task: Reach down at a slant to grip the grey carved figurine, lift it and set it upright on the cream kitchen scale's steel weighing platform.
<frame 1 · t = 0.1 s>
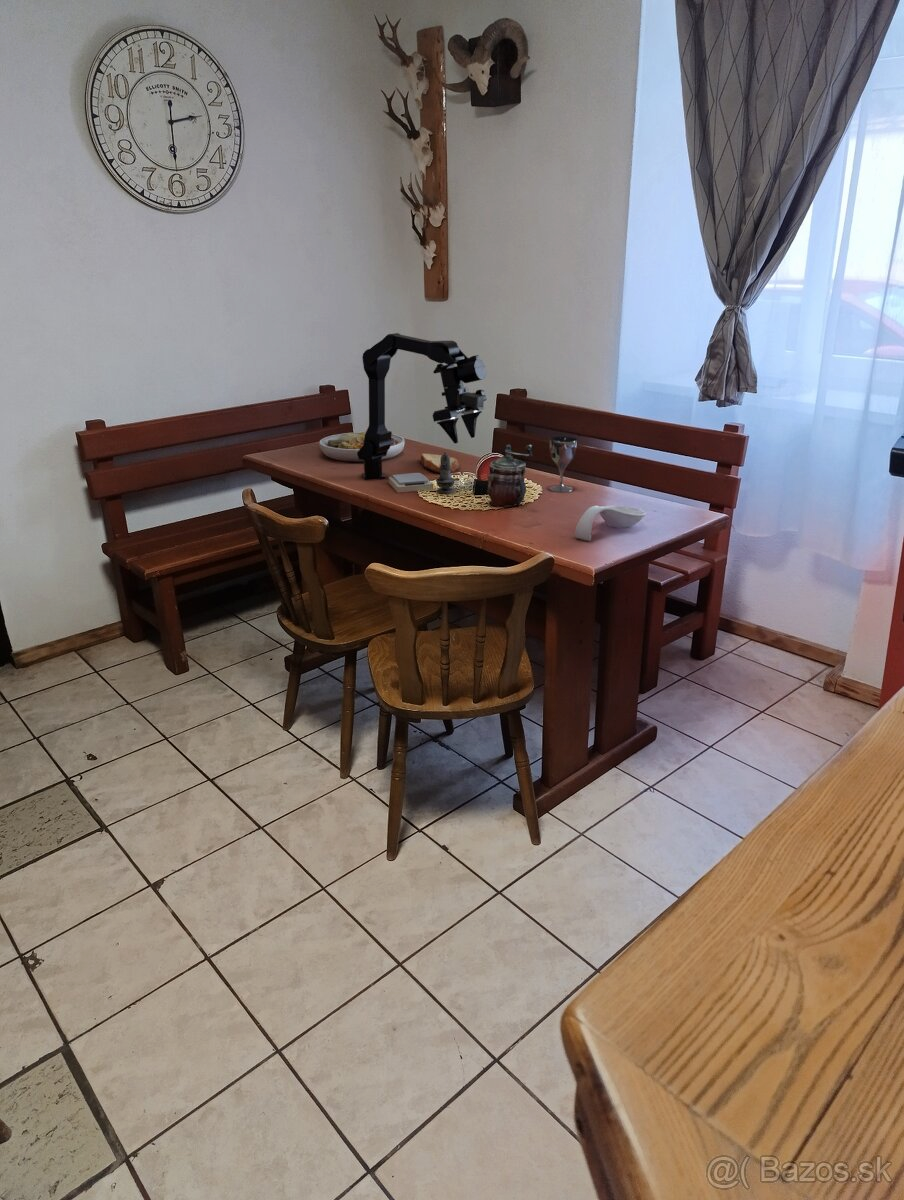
hand: (464, 440, 236), 15 cm above the table, tool pointing down, fingers open, 9 cm apart
scale: (410, 486, 249), on the table
grey carved figurine: (445, 492, 243), on the table
wine glass: (560, 489, 245), on the table
spoon rest: (608, 530, 208), on the table
coffee grinder: (511, 504, 230), on the table
bread slice: (436, 467, 272), on the table
bowl: (362, 454, 290), on the table
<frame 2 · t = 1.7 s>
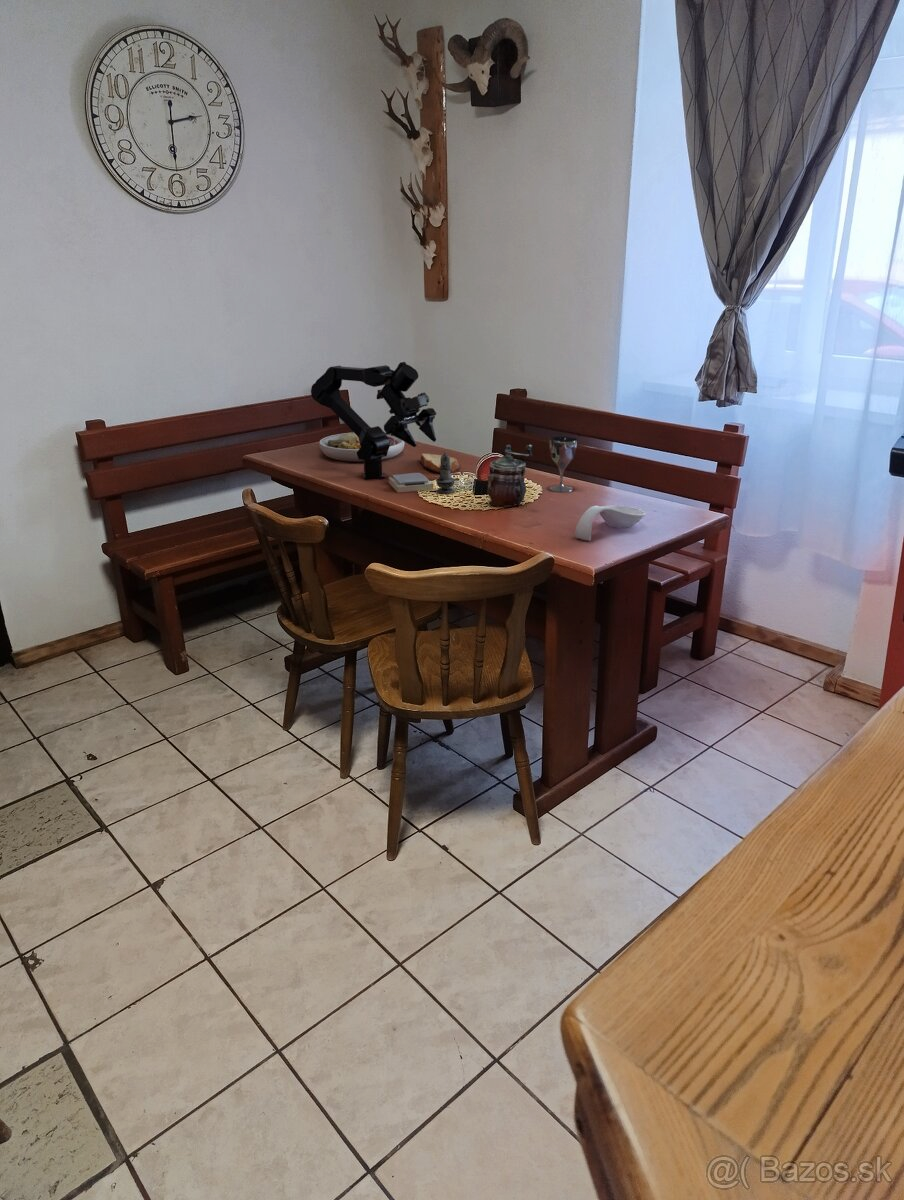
hand: (425, 443, 242), 13 cm above the table, tool tilted 45°, fingers open, 9 cm apart
nothing on the table moved.
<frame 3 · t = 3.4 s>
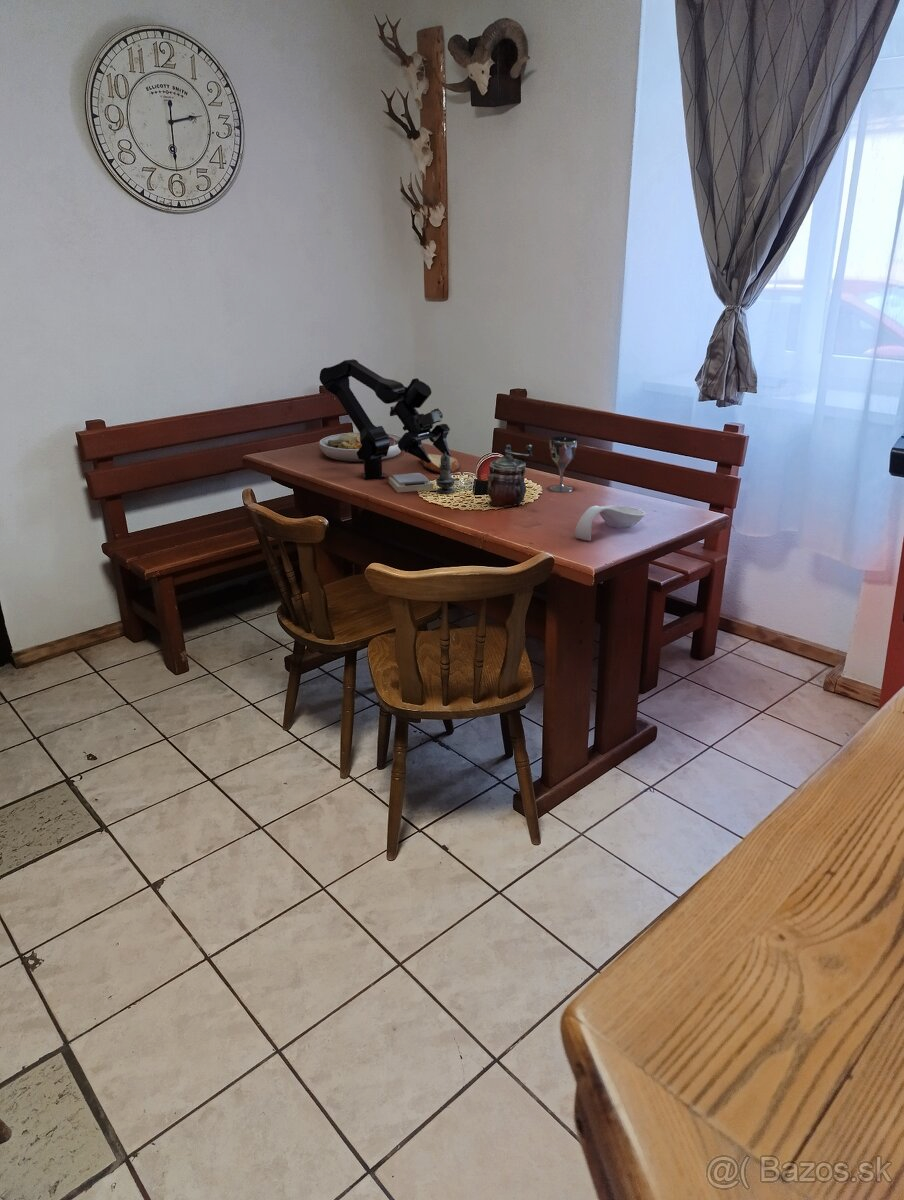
hand: (439, 459, 241), 9 cm above the table, tool tilted 45°, fingers open, 9 cm apart
nothing on the table moved.
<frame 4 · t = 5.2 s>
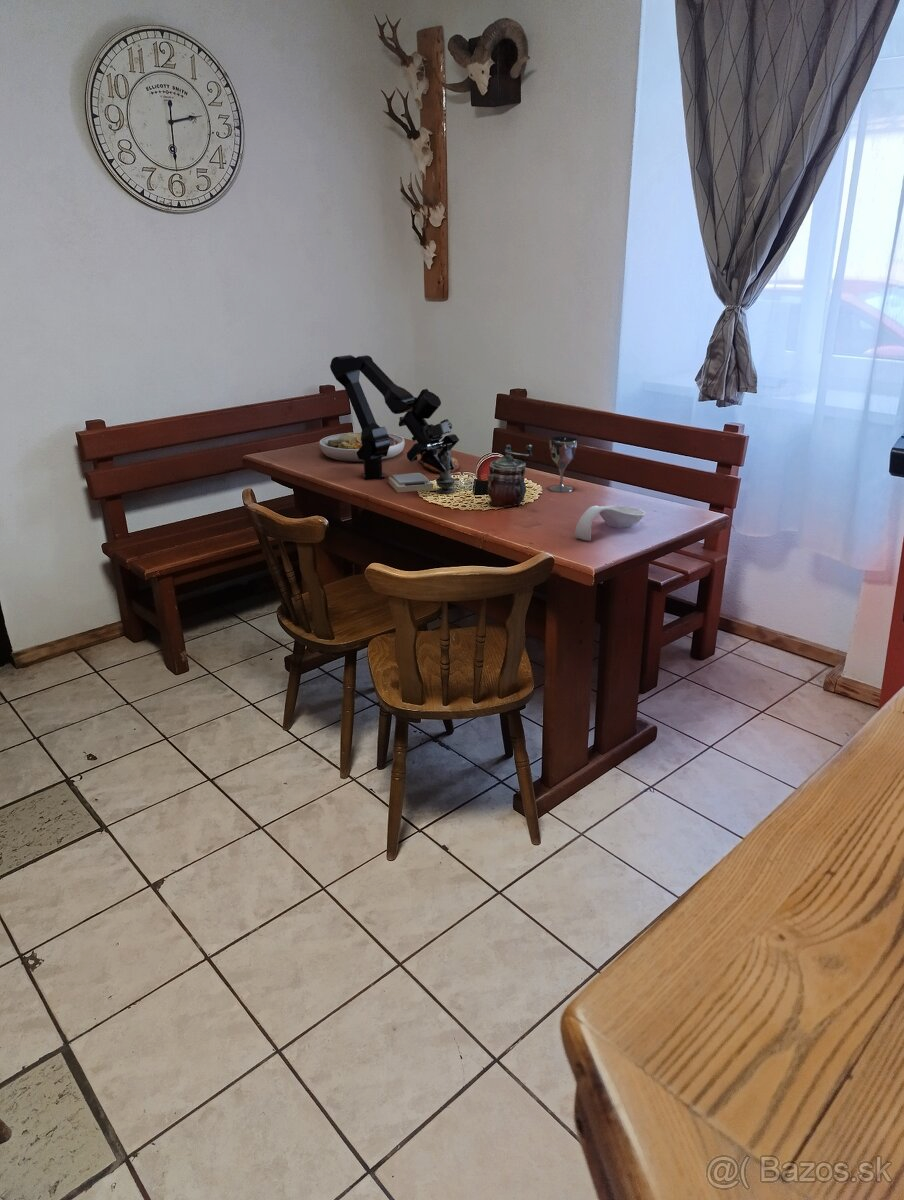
hand: (449, 470, 240), 7 cm above the table, tool tilted 45°, fingers closed on grey carved figurine, 3 cm apart
grey carved figurine: (445, 492, 243), on the table, touching gripper
everything else where it was.
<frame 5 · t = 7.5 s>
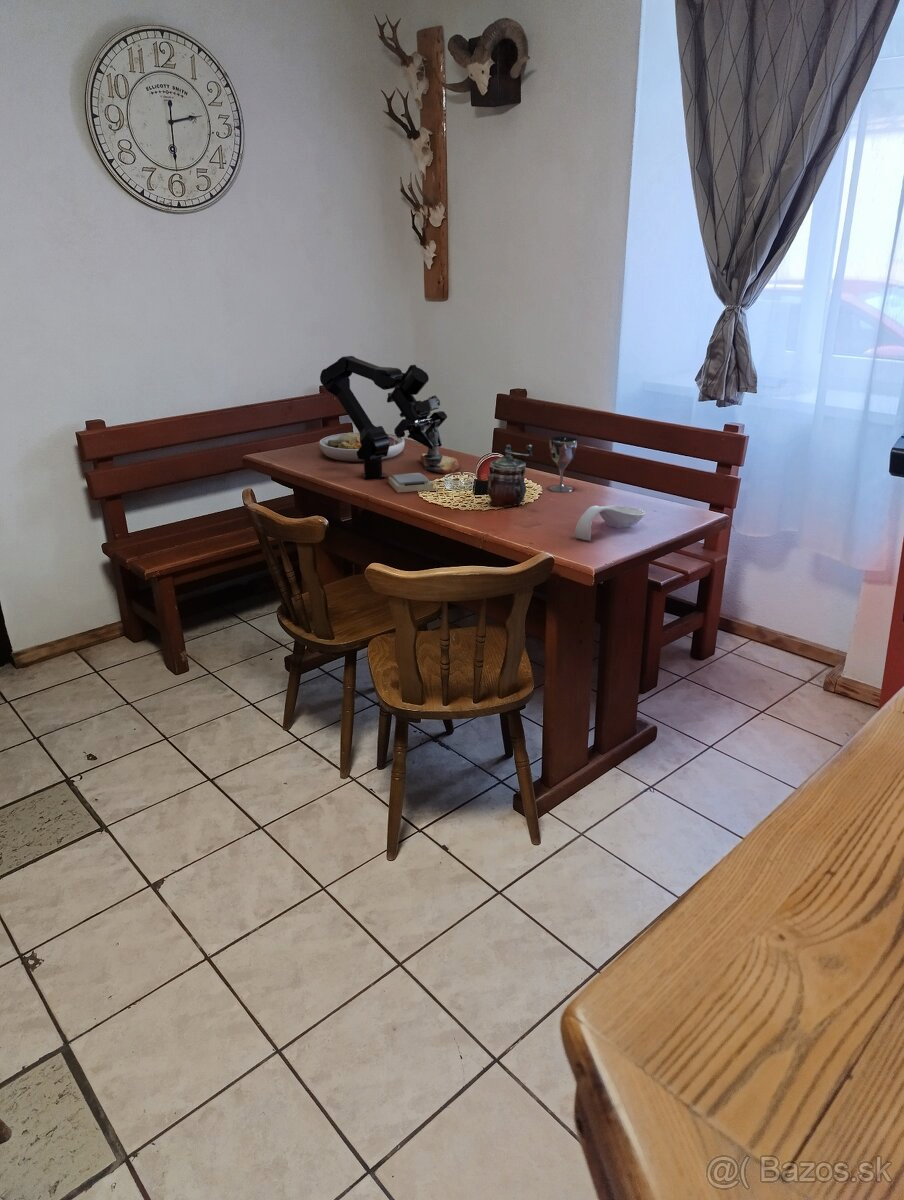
hand: (436, 447, 239), 13 cm above the table, tool tilted 45°, fingers closed on grey carved figurine, 3 cm apart
grey carved figurine: (433, 468, 243), point 6 cm above the table, touching gripper
everything else where it was.
when the fingers open (9 cm above the table, at t = 10.1 s): grey carved figurine stays where it is, resting on scale.
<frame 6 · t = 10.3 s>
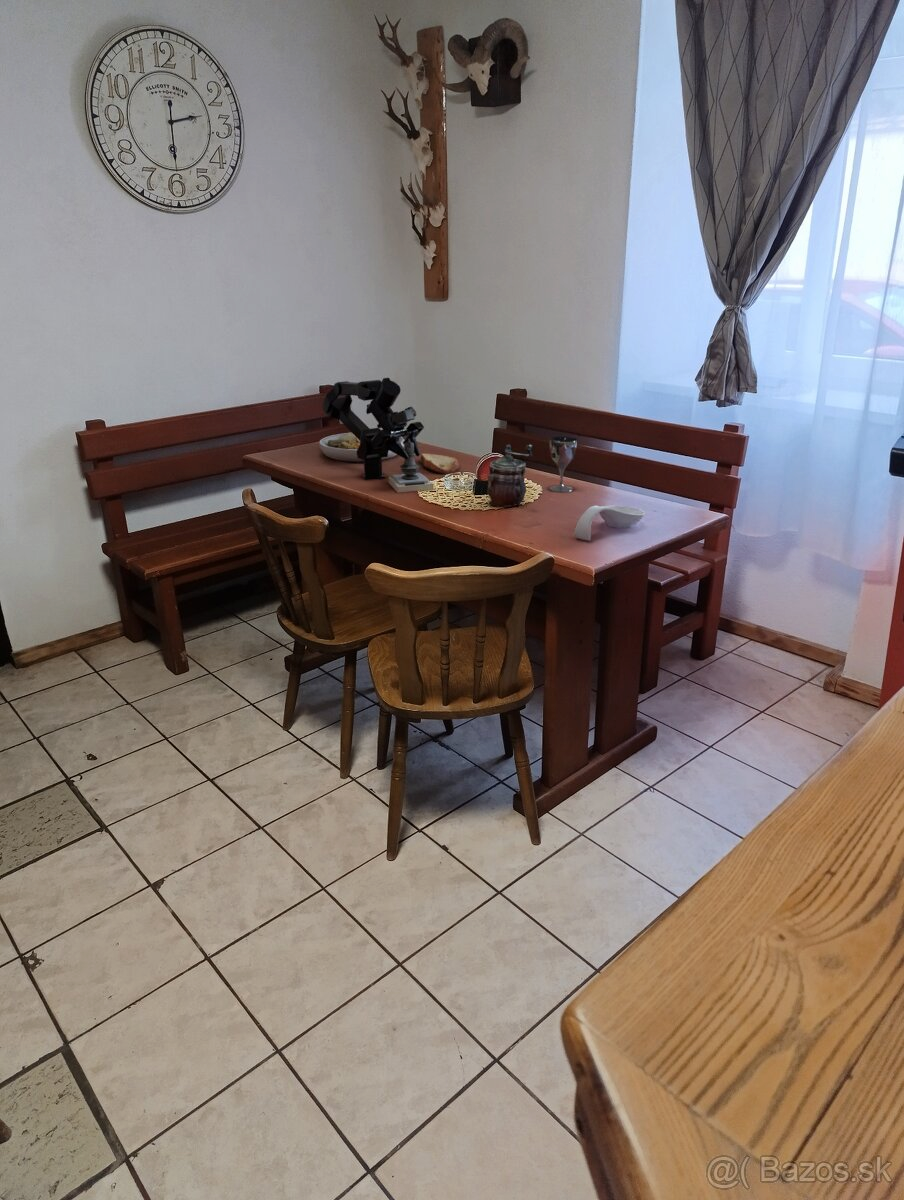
hand: (413, 457, 245), 9 cm above the table, tool tilted 45°, fingers open, 5 cm apart
grey carved figurine: (410, 478, 248), point 2 cm above the table, touching scale
everything else where it was.
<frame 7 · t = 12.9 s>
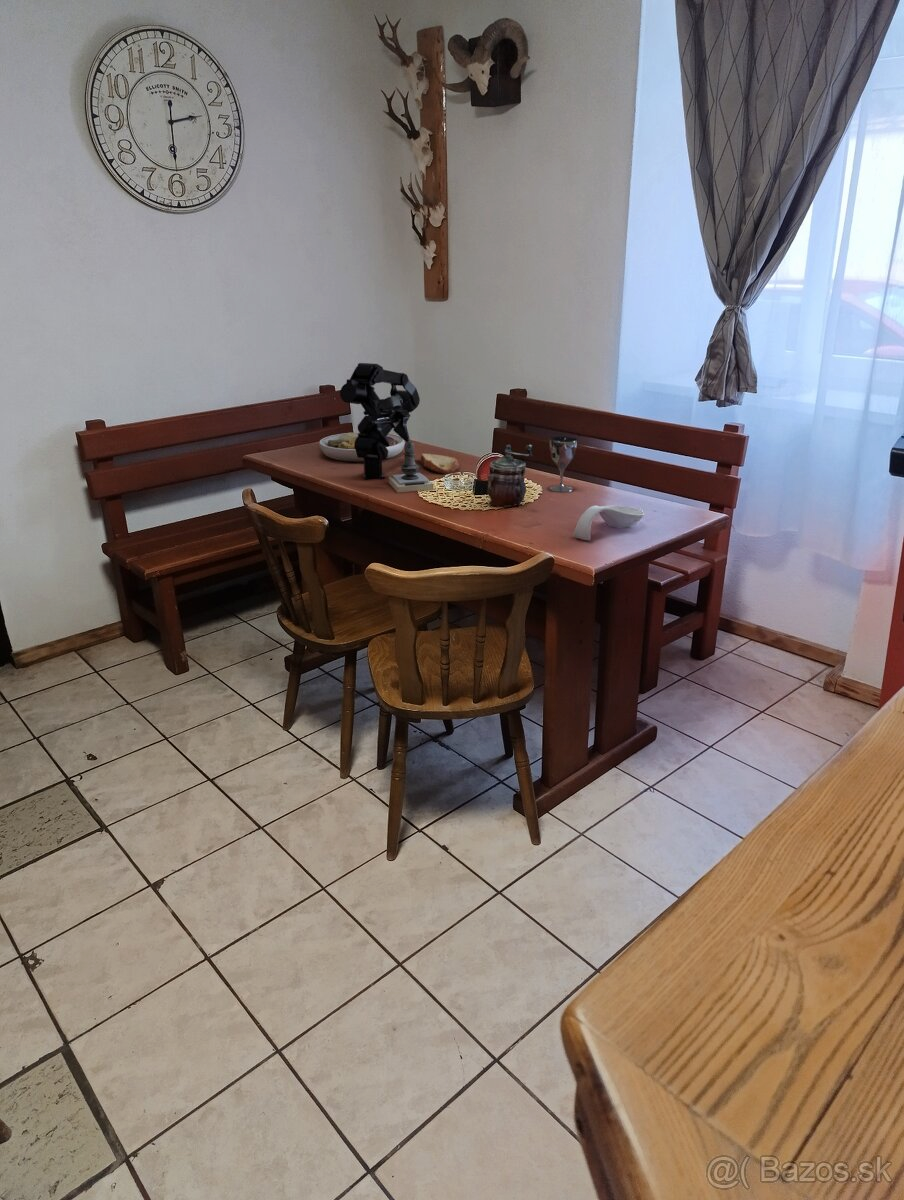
hand: (399, 443, 246), 13 cm above the table, tool tilted 45°, fingers open, 9 cm apart
nothing on the table moved.
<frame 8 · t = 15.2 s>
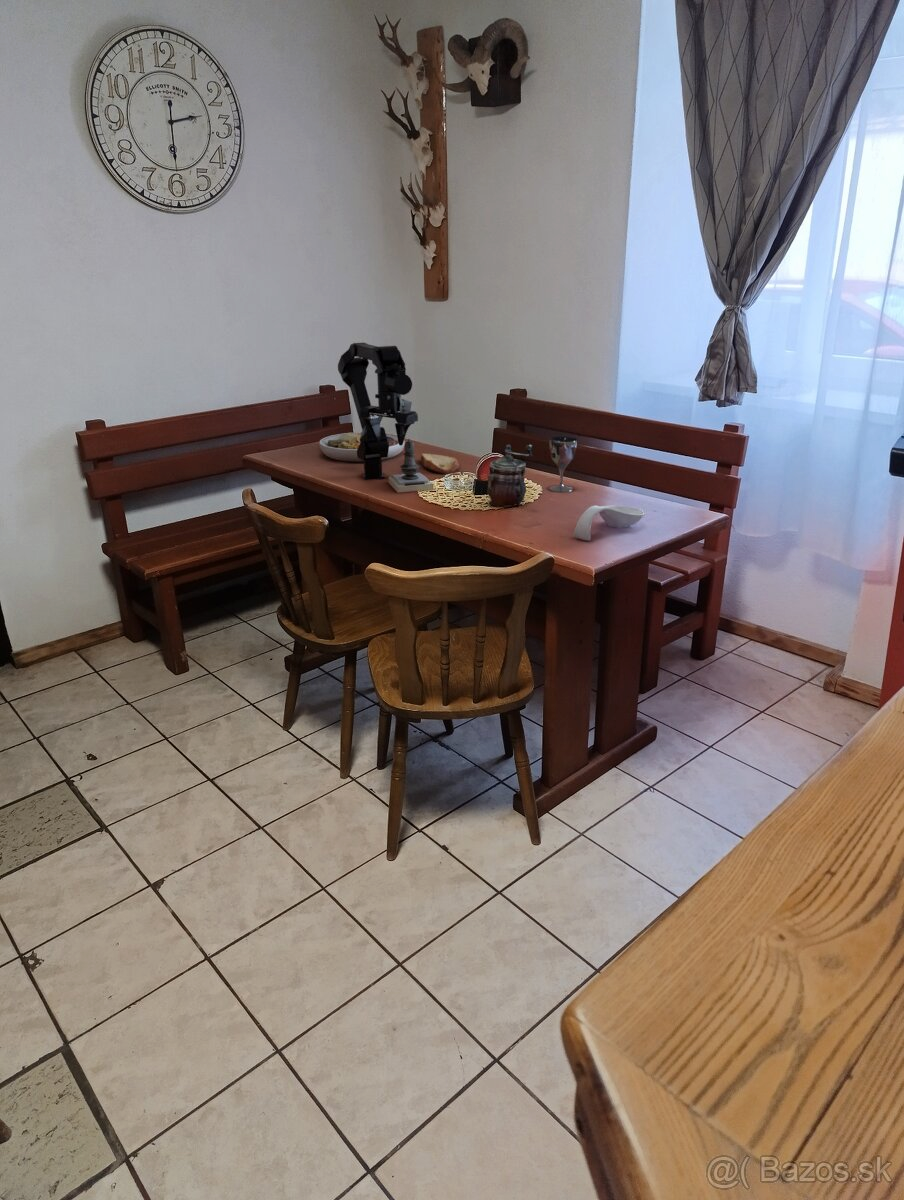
hand: (389, 443, 245), 13 cm above the table, tool pointing down, fingers open, 9 cm apart
nothing on the table moved.
at the end: grey carved figurine inside the target area on the scale (0.3 cm from its centre), point 2.4 cm above the scale's base; grey carved figurine tilted 0°; the gripper is holding nothing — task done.
